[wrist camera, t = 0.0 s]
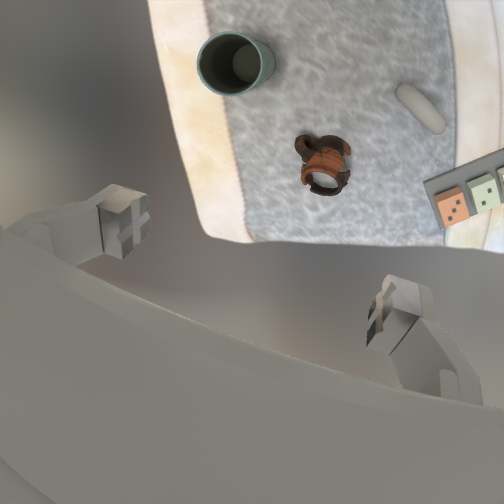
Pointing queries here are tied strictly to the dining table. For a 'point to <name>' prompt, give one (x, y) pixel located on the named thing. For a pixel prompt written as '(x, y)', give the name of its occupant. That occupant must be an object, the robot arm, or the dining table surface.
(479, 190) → the sage tile
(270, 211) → the dining table surface
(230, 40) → the green cylindrical pot
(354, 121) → the dining table surface
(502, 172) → the cream tile
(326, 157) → the brown rounded piece
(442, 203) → the terracotta tile
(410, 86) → the donut
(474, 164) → the board
